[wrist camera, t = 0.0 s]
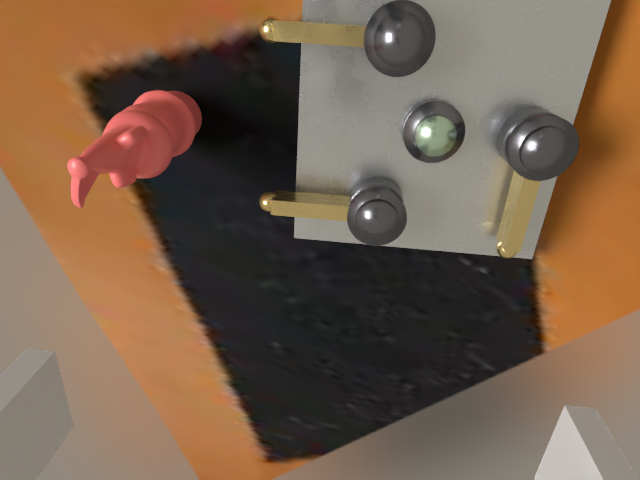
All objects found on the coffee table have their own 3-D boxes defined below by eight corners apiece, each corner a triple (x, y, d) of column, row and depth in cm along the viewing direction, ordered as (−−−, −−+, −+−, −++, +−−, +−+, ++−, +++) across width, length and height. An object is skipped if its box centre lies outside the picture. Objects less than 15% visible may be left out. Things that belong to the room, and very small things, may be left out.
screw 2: (406, 179, 36) (411, 196, 32) (399, 230, 37) (403, 251, 34) (263, 167, 36) (253, 183, 33) (263, 218, 38) (253, 238, 35)
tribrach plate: (307, -32, 32) (300, -38, 28) (601, -14, 31) (634, -18, 27) (296, 228, 41) (290, 249, 37) (524, 248, 40) (541, 272, 36)
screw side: (505, 104, 32) (522, 115, 29) (568, 109, 32) (592, 121, 29) (472, 245, 38) (483, 268, 34) (526, 250, 37) (542, 273, 34)
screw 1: (433, 3, 30) (443, 2, 27) (423, 73, 32) (430, 80, 29) (264, -8, 31) (252, -11, 27) (263, 62, 33) (252, 68, 29)
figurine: (199, 158, 38) (114, 235, 25) (141, 132, 38) (22, 197, 25) (218, 101, 36) (135, 152, 23) (156, 73, 36) (34, 108, 22)
